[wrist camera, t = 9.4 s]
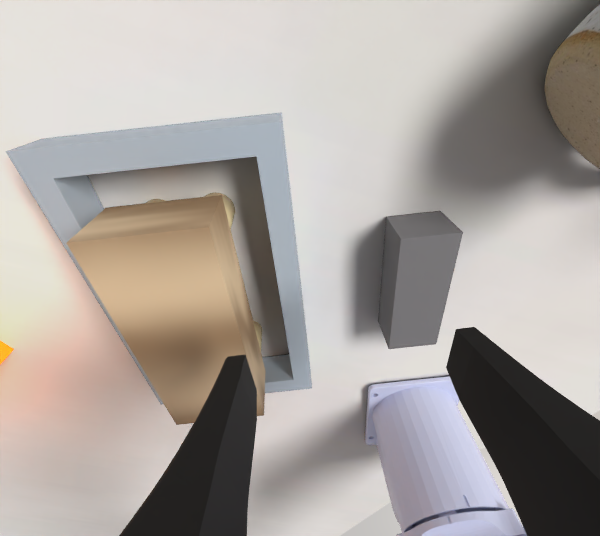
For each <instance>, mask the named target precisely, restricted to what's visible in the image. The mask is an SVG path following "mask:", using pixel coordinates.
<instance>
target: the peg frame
mask: <svg viewBox="0 0 600 536" xmlns="http://www.w3.org/2000/svg"><path fill="white" fill-rule="evenodd" d="M6 153H7V154H8V156H9V158H10V159H11V161H12V162H13V164H14V166H15V167H16V169H17V171H18V172H19V174H20V176H21V177H22V179H23V180H24V182H25V184H26V185H27V187H28V189H29V190H30V192H31V193H32V195H33V197H34V198H35V200H36V202H37V203H38V205H39V206H40V208H41V210H42V211H43V213H44V215H45V216H46V218H47V219H48V221H49V223H50V224H51V226H52V228H53V229H54V231H55V233H56V234H57V236H58V237H59V239H60V241H61V242H62V244H63V246H64V247H65V249H66V250H67V252H68V254H69V255H70V257H71V259H72V260H73V262H74V263H75V265H76V267H77V268H78V270H79V272H80V273H81V275H82V276H83V278H84V280H85V281H86V283H87V285H88V286H89V288H90V289H91V291H92V293H93V294H94V296H95V298H96V299H97V301H98V303H99V304H100V306H101V307H102V309H103V311H104V312H105V314H106V316H107V317H108V319H109V320H110V322H111V324H112V325H113V327H114V329H115V330H116V332H117V333H118V335H119V337H120V338H121V340H122V342H123V343H124V345H125V346H126V348H127V350H128V351H129V353H130V355H131V356H132V358H133V359H134V361H135V363H136V364H137V366H138V368H139V369H140V371H141V373H142V374H143V376H144V377H145V379H146V381H147V382H148V384H149V386H150V387H151V389H152V390H153V392H154V394H155V395H156V397H157V399H158V400H159V402H160V403H161V404H164V403H163V402H162V400H161V398H160V397H159V395H158V393H157V392H156V390H155V388H154V387H153V385H152V383H151V382H150V380H149V379H148V377H147V375H146V374H145V372H144V370H143V369H142V367H141V365H140V364H139V362H138V360H137V359H136V357H135V355H134V354H133V352H132V351H131V349H130V347H129V346H128V344H127V342H126V341H125V339H124V337H123V336H122V334H121V332H120V331H119V329H118V328H117V326H116V324H115V323H114V321H113V319H112V318H111V316H110V314H109V313H108V311H107V309H106V308H105V306H104V304H103V303H102V301H101V300H100V298H99V296H98V295H97V293H96V291H95V290H94V288H93V286H92V285H91V283H90V281H89V280H88V278H87V277H86V275H85V273H84V272H83V270H82V268H81V267H80V265H79V263H78V262H77V260H76V258H75V257H74V255H73V253H72V252H71V250H70V249H69V247H68V245H67V244H66V243H67V242H68V241H69V240H70V239H71V238H72V237H73V236H75V235H76V234H77V233H78V232H79V231H80V230H81V229H82V228H84V227H85V226H86V225H87V224H88V223H89V222H90V221H91V220H93V219H94V218H95V217H96V216H97V215H98V214H99V213H101V212H102V211H103V210H104V208H103V206H102V204H101V202H100V200H99V198H98V196H97V194H96V192H95V190H94V188H93V186H92V184H91V182H90V180H89V178H88V176H87V175H91V174H100V173H109V172H118V171H127V170H137V169H146V168H155V167H164V166H173V165H182V164H192V163H201V162H210V161H219V160H228V159H237V158H247V157H257V163H258V169H259V175H260V181H261V187H262V193H263V199H264V205H265V211H266V217H267V223H268V229H269V235H270V241H271V247H272V253H273V259H274V265H275V271H276V277H277V283H278V289H279V295H280V301H281V307H282V313H283V319H284V325H285V331H286V337H287V343H288V349H289V355H280V356H271V357H262V359H263V363H264V367H265V393H272V392H282V391H291V390H300V389H310V388H312V381H311V372H310V362H309V353H308V344H307V335H306V326H305V318H304V309H303V300H302V291H301V282H300V273H299V264H298V255H297V247H296V238H295V229H294V220H293V211H292V202H291V193H290V184H289V175H288V167H287V158H286V149H285V140H284V131H283V122H282V113H274V114H265V115H256V116H247V117H238V118H229V119H220V120H210V121H201V122H192V123H183V124H174V125H165V126H156V127H147V128H137V129H128V130H119V131H110V132H101V133H92V134H83V135H74V136H64V137H55V138H46V139H40V140H37V141H34V142H32V143H29V144H26V145H23V146H20V147H17V148H15V149H12V150H9V151H6ZM218 195H222V198H223V202H224V206H225V210H226V214H227V218H228V222H229V226H230V229H231V225H232V221H233V218H234V214H235V207H234V204H233V202H232V201H231V200H230V199H229V198H228V197H227V196H225V195H223V194H221V193H210V194H208V195H206V196H205V197H209V196H218ZM163 201H164V200H160V199H153V200H150V201H148V202H147V203H154V202H163ZM253 323H254V327H255V331H256V335H257V339H258V343H259V347H260V351H261V341H262V327H261V325H260V324H259V323H257V322H255V321H253Z"/></svg>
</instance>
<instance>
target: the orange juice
mask: <svg viewBox="0 0 600 536" xmlns="http://www.w3.org/2000/svg"><path fill="white" fill-rule="evenodd" d="M13 350H14V349H13V348H11V347H9V346H8V345H6V344H5V343H3V342H1V341H0V364H1V363H2V362H3V361H4V360H5V359H6V358H7V356H8V355H9V354H10V353H11V352H12V351H13Z"/></svg>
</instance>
